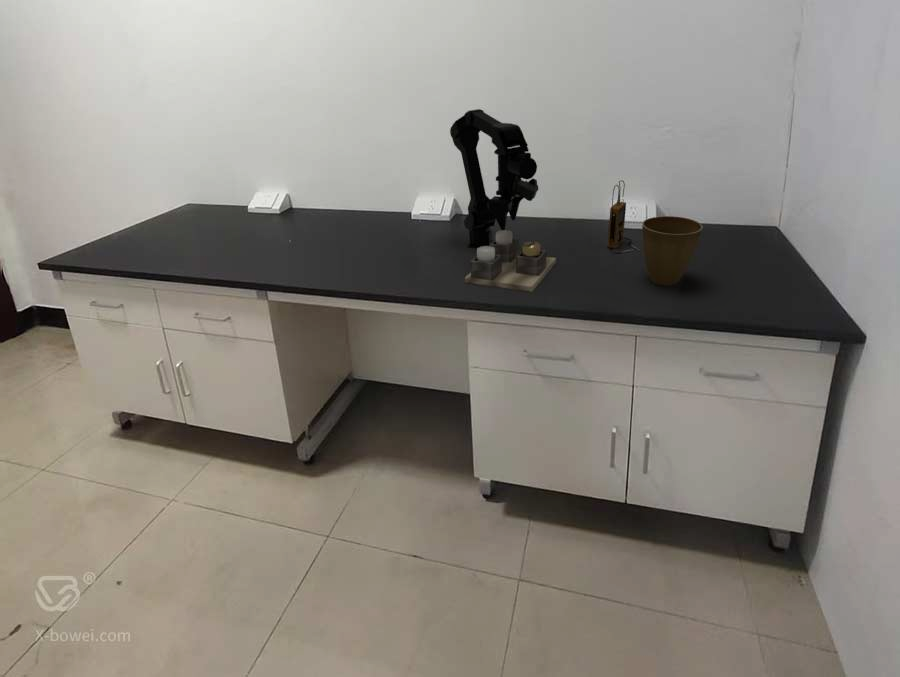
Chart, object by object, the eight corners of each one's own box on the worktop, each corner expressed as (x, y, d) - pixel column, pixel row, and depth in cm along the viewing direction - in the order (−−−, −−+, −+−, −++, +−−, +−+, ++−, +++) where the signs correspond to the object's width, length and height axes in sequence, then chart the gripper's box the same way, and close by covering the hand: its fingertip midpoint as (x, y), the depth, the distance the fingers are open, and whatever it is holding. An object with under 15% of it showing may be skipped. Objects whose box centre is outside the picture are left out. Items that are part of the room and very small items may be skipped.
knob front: (474, 267, 168) (474, 251, 166) (481, 261, 172) (481, 245, 170) (491, 270, 166) (490, 253, 164) (497, 263, 170) (497, 247, 168)
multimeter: (635, 256, 180) (641, 191, 170) (603, 252, 185) (607, 188, 175) (649, 241, 190) (655, 178, 181) (618, 237, 195) (623, 175, 186)
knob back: (493, 250, 179) (493, 235, 177) (499, 245, 183) (499, 229, 181) (509, 252, 177) (508, 236, 175) (514, 246, 181) (514, 231, 179)
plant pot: (662, 296, 155) (669, 237, 147) (625, 276, 167) (630, 221, 159) (706, 284, 160) (715, 226, 152) (667, 266, 172) (674, 212, 164)
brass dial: (520, 263, 169) (519, 245, 167) (525, 257, 173) (525, 239, 171) (536, 265, 167) (537, 247, 165) (542, 259, 171) (542, 241, 169)
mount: (465, 282, 170) (464, 261, 167) (494, 255, 187) (493, 235, 184) (531, 291, 162) (532, 269, 159) (555, 262, 179) (556, 242, 176)
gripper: (525, 182, 159) (524, 238, 167) (544, 165, 174) (543, 217, 181) (486, 180, 163) (487, 234, 171) (508, 163, 178) (508, 214, 185)
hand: (508, 224), depth 177 cm, fingers open, 9 cm apart
